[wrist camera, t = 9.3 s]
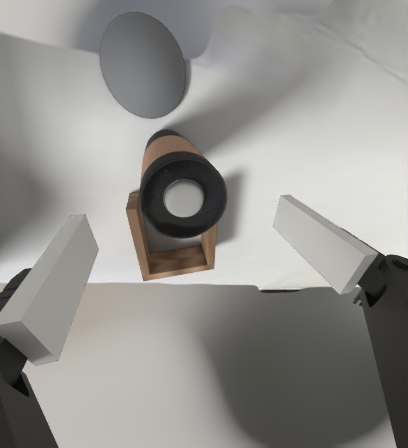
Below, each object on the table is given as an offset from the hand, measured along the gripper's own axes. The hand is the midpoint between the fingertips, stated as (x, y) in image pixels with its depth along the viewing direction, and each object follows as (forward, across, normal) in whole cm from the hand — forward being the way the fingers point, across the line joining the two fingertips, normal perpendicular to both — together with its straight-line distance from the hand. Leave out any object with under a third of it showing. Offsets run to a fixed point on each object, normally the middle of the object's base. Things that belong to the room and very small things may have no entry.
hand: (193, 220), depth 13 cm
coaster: (+23, -2, +10) cm, 25 cm away
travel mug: (+23, 0, 0) cm, 23 cm away
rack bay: (+23, 0, -15) cm, 28 cm away
